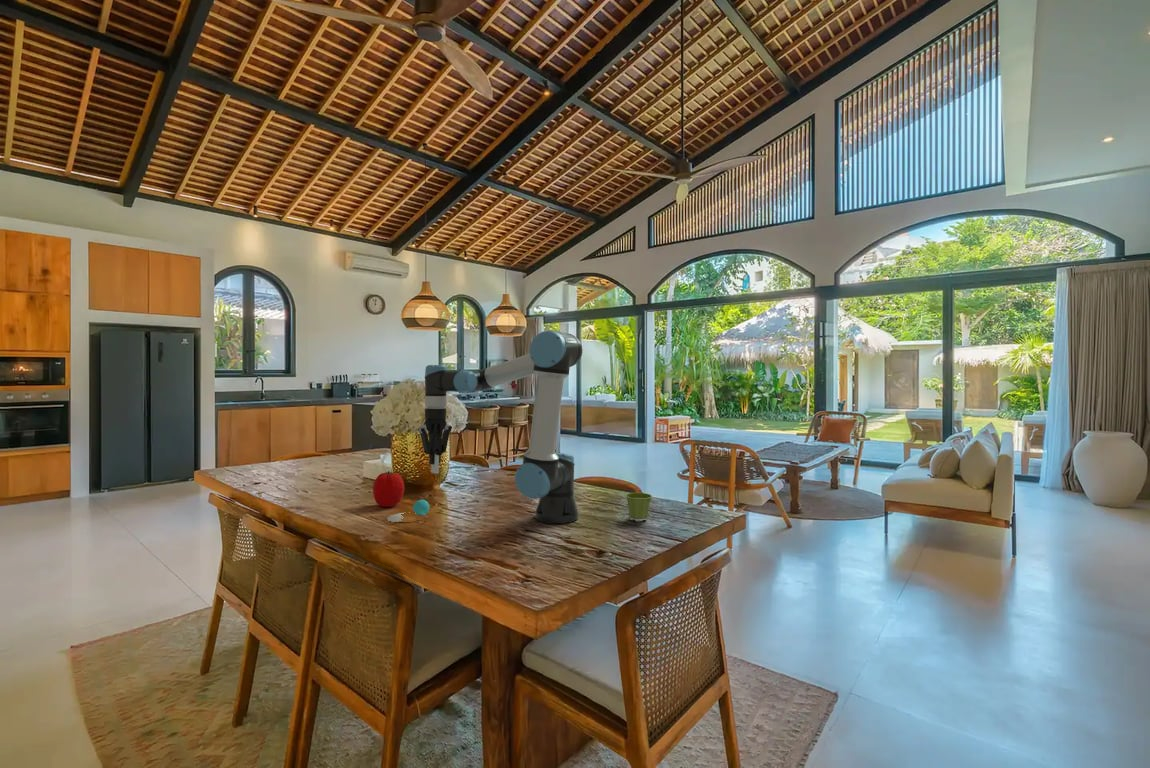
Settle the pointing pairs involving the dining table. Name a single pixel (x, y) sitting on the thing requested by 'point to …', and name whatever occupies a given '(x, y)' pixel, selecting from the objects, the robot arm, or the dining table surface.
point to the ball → (421, 507)
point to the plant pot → (638, 505)
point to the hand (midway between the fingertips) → (435, 472)
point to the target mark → (395, 517)
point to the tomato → (388, 489)
